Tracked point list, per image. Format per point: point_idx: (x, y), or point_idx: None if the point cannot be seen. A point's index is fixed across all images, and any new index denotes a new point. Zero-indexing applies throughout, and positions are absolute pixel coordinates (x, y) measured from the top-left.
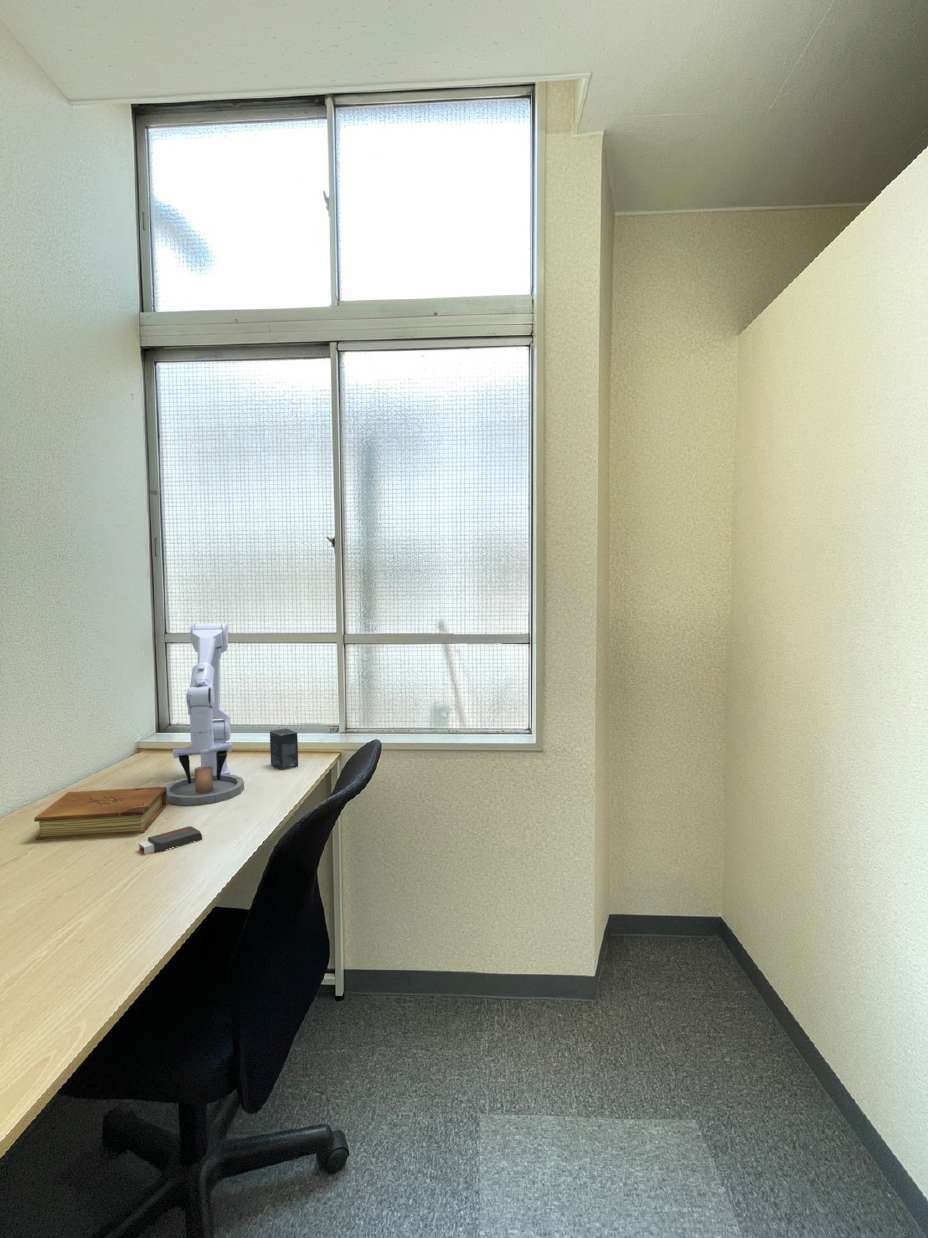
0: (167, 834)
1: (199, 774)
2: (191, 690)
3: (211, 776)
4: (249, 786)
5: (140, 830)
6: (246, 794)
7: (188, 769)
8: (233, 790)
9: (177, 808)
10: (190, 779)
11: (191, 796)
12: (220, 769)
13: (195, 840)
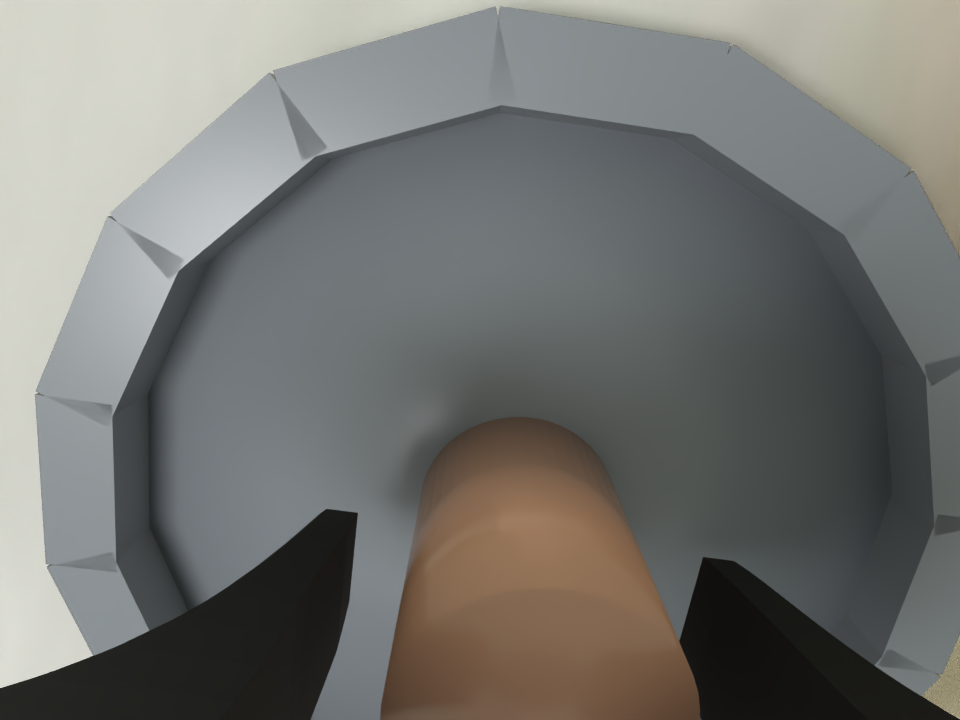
0: None
1: (633, 577)
2: None
3: (434, 540)
4: (30, 427)
5: None
6: (91, 140)
7: (869, 696)
8: (217, 122)
9: (941, 99)
10: (735, 584)
11: (801, 157)
12: (261, 575)
13: None
